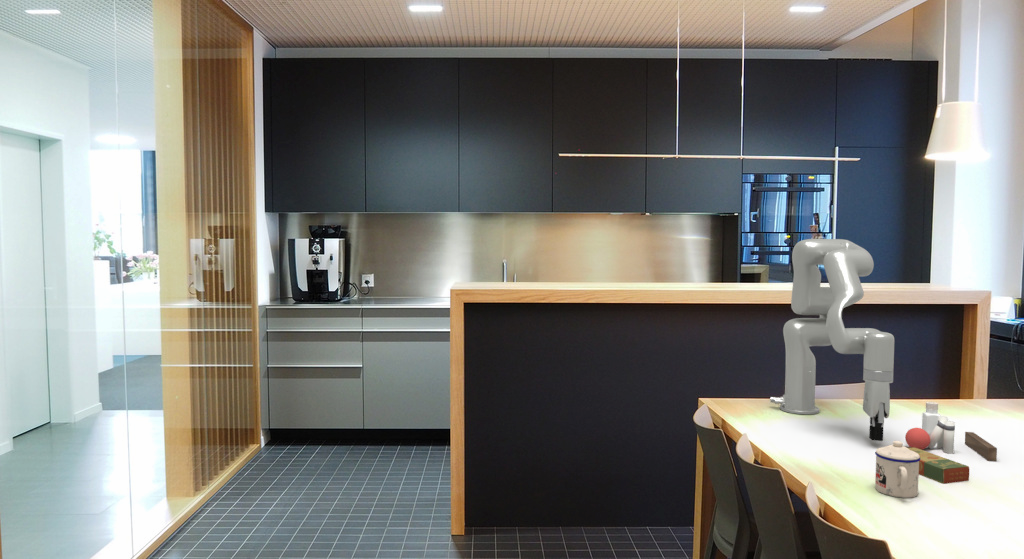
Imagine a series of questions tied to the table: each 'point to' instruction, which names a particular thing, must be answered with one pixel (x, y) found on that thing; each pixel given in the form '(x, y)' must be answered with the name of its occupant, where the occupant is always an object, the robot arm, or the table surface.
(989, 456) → the rail
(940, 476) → the carton
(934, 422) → the salt shaker
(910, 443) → the ball
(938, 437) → the pin front
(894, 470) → the teacup with lid
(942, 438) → the pin rear left
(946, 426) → the pin rear right
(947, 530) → the table surface
